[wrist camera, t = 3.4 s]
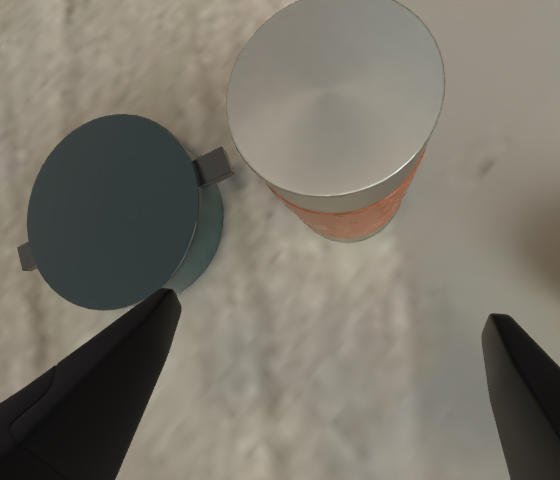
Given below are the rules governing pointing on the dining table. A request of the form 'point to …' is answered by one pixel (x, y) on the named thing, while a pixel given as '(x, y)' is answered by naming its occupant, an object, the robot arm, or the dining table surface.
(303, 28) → the can
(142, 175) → the pot
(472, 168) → the dining table surface
